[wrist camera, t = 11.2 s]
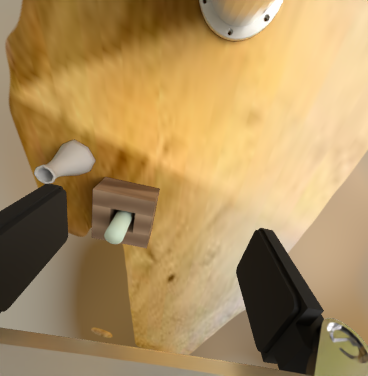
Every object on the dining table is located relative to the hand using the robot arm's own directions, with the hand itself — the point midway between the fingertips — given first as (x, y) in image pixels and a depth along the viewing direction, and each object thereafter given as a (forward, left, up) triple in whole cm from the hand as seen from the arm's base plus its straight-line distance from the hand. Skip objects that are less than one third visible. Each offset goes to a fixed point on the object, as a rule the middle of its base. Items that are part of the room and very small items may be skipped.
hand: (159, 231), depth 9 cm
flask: (+10, -20, -31) cm, 38 cm away
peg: (+19, -8, -29) cm, 36 cm away
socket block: (+19, -8, -30) cm, 37 cm away
